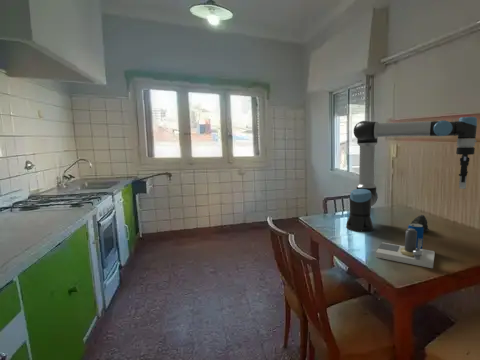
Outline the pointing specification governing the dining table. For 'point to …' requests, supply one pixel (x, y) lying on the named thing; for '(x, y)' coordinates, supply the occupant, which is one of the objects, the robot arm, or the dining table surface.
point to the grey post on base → (409, 242)
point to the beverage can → (419, 230)
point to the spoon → (418, 248)
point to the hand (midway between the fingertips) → (462, 186)
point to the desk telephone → (394, 254)
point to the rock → (421, 222)
